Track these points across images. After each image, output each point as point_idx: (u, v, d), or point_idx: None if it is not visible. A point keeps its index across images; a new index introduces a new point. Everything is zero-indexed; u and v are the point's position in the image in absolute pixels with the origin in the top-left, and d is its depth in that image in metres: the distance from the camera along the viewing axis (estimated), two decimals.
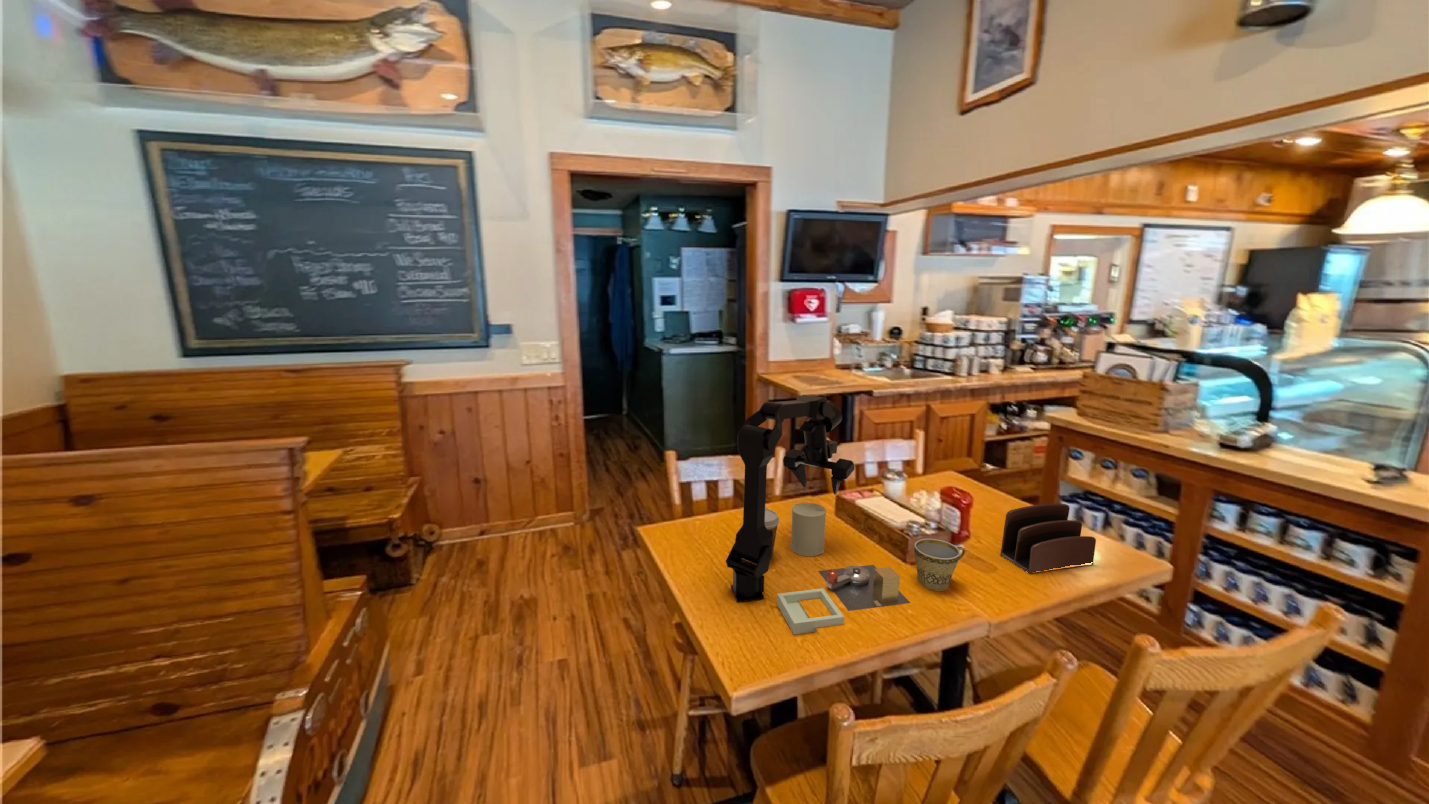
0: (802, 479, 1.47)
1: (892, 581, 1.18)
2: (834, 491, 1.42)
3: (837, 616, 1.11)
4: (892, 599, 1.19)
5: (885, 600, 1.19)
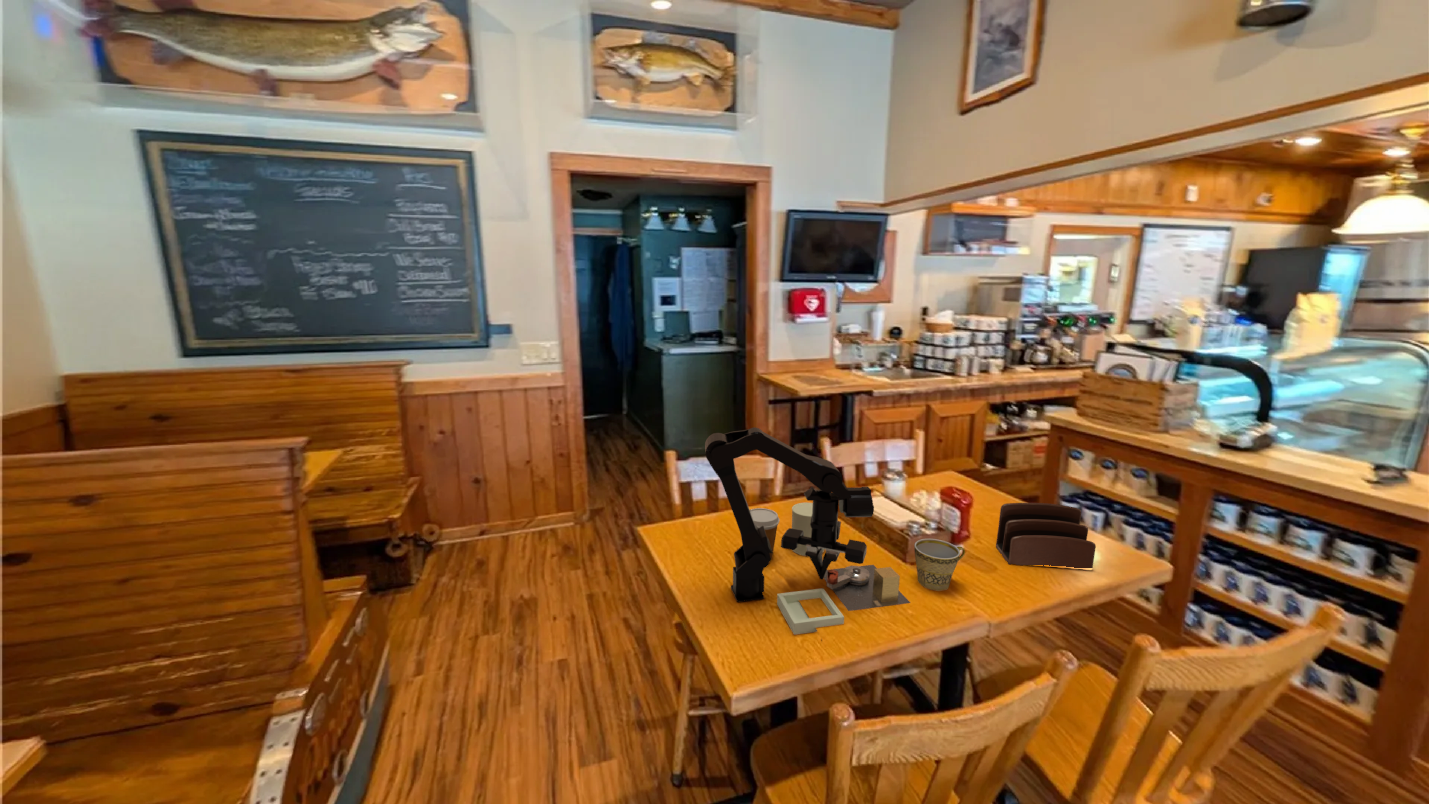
0: (820, 569, 1.22)
1: (892, 581, 1.18)
2: (822, 575, 1.22)
3: (837, 616, 1.11)
4: (892, 599, 1.19)
5: (885, 600, 1.19)
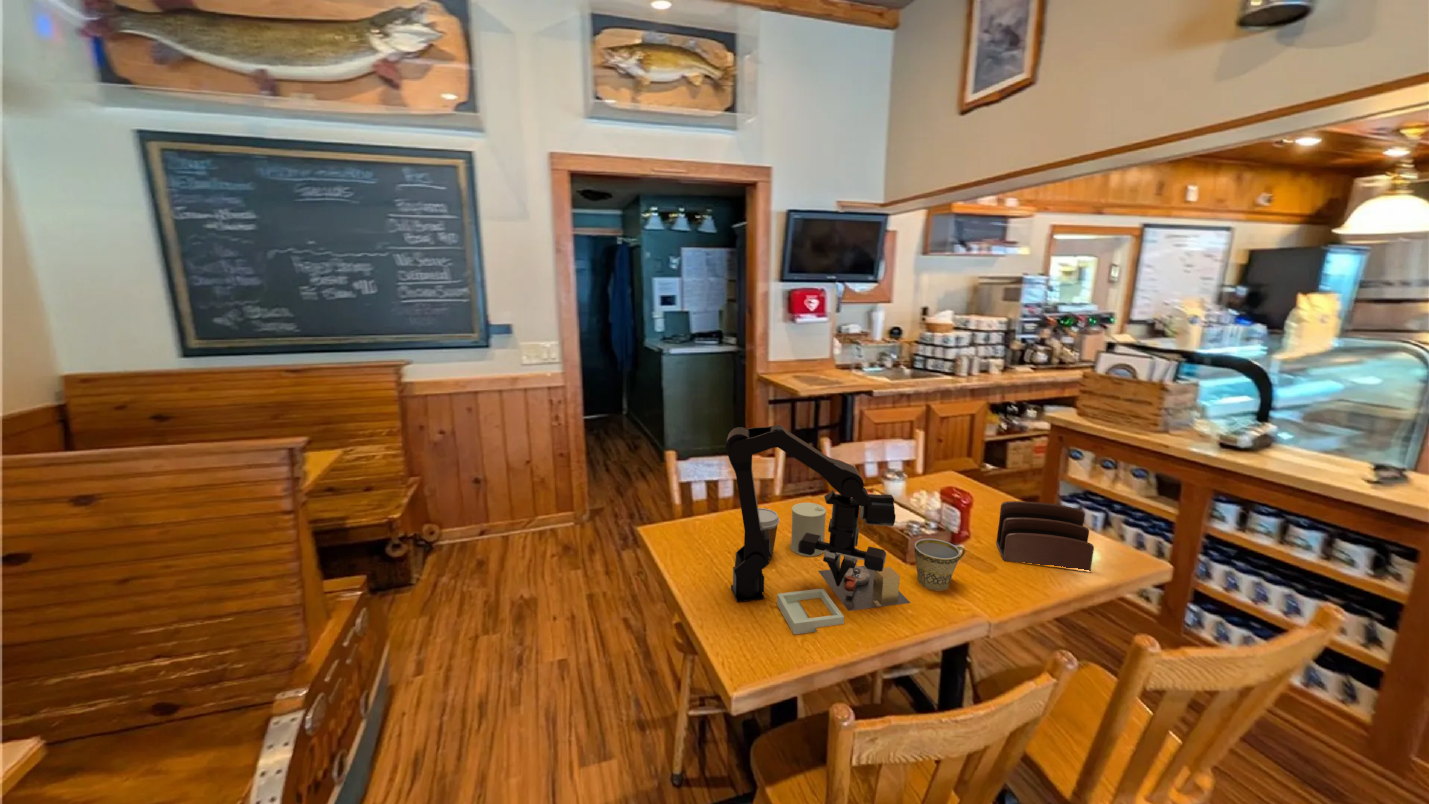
0: (838, 575, 1.20)
1: (892, 581, 1.18)
2: (839, 582, 1.20)
3: (837, 616, 1.11)
4: (892, 599, 1.19)
5: (885, 600, 1.19)
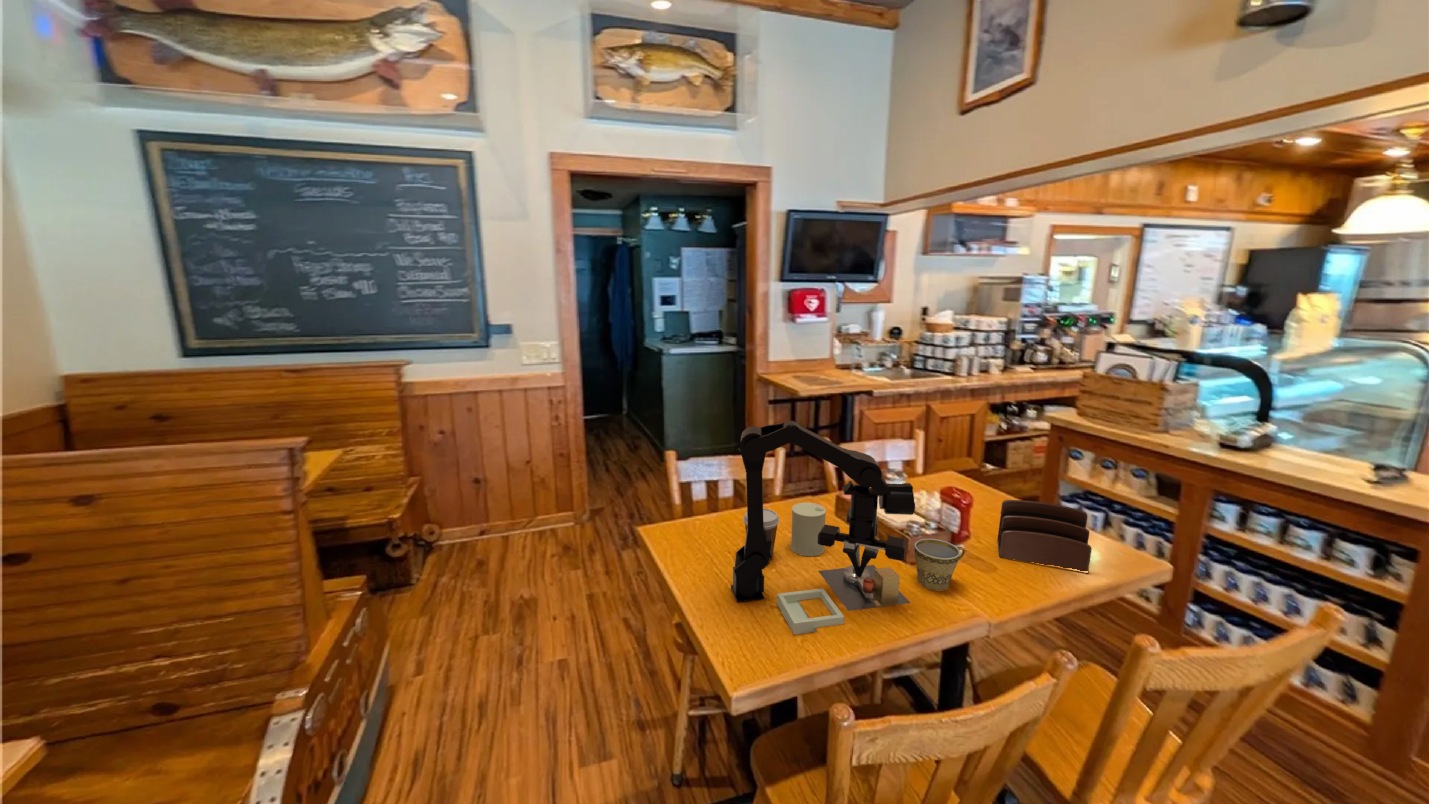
0: (858, 566, 1.19)
1: (892, 581, 1.18)
2: (861, 573, 1.19)
3: (837, 616, 1.11)
4: (892, 599, 1.19)
5: (885, 600, 1.19)
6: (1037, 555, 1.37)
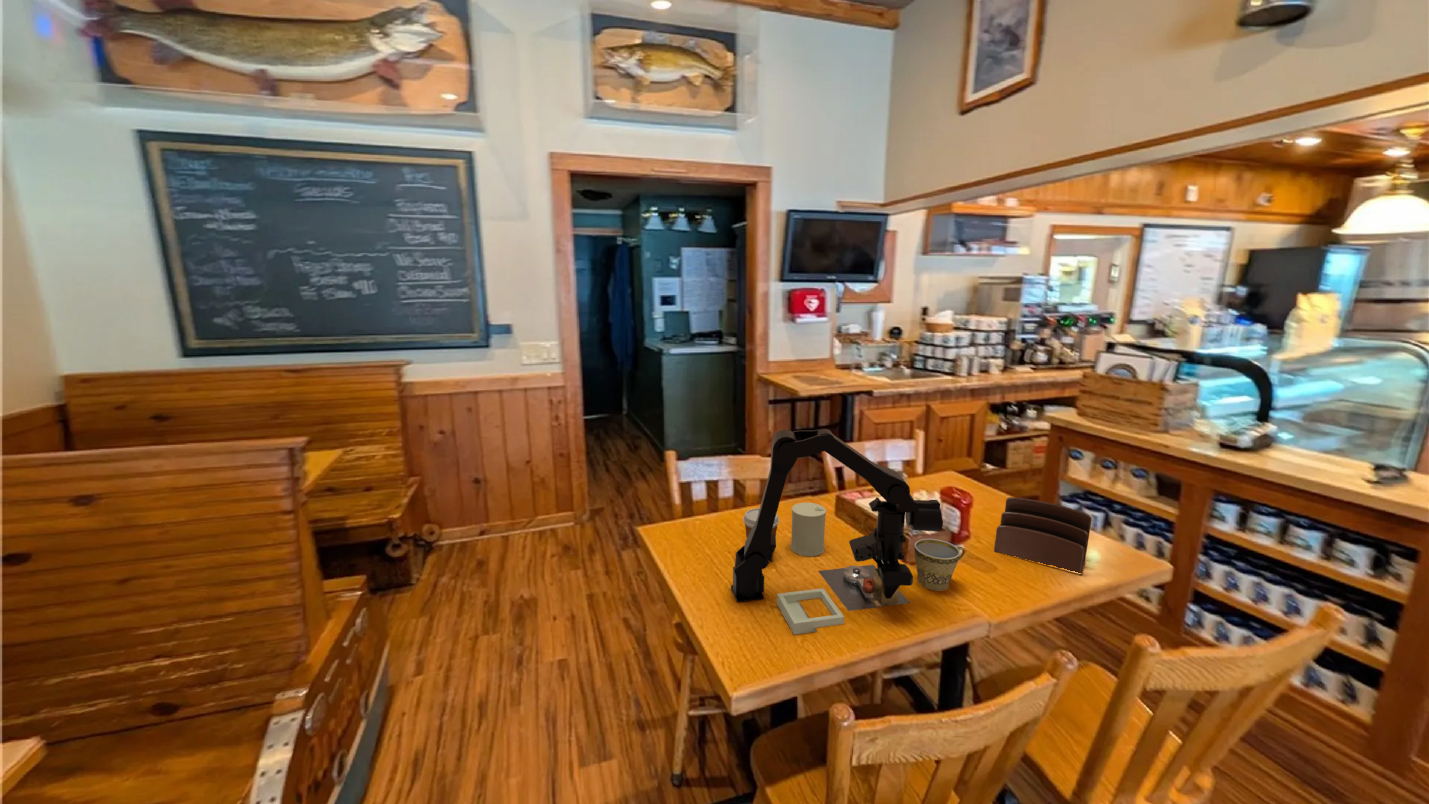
0: None
1: None
2: None
3: (837, 616, 1.11)
4: (892, 599, 1.19)
5: (885, 600, 1.19)
6: (1030, 552, 1.38)
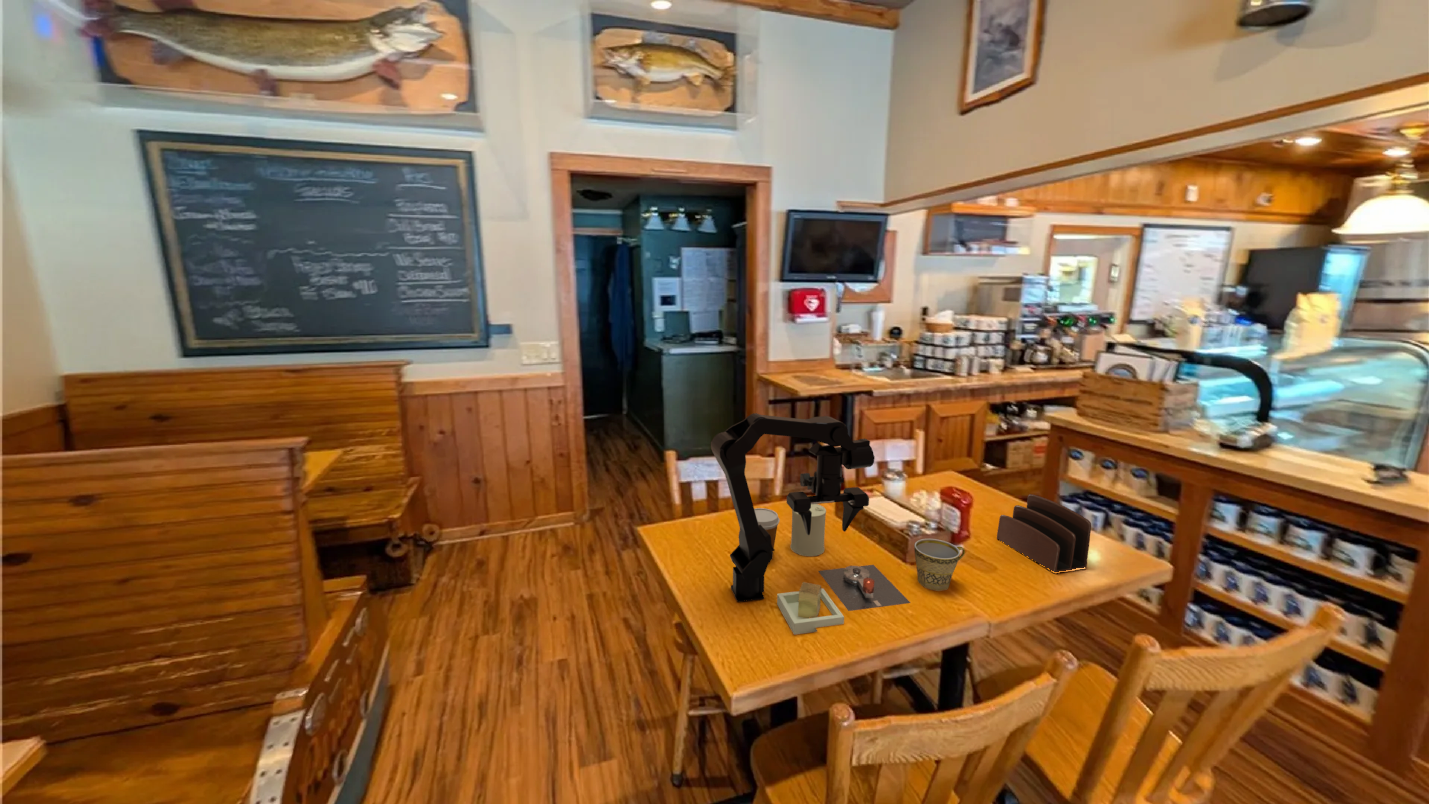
0: None
1: (809, 598, 1.13)
2: (847, 527, 1.27)
3: (837, 616, 1.11)
4: (810, 617, 1.13)
5: (802, 616, 1.14)
6: (1021, 544, 1.42)
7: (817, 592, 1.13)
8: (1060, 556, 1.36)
